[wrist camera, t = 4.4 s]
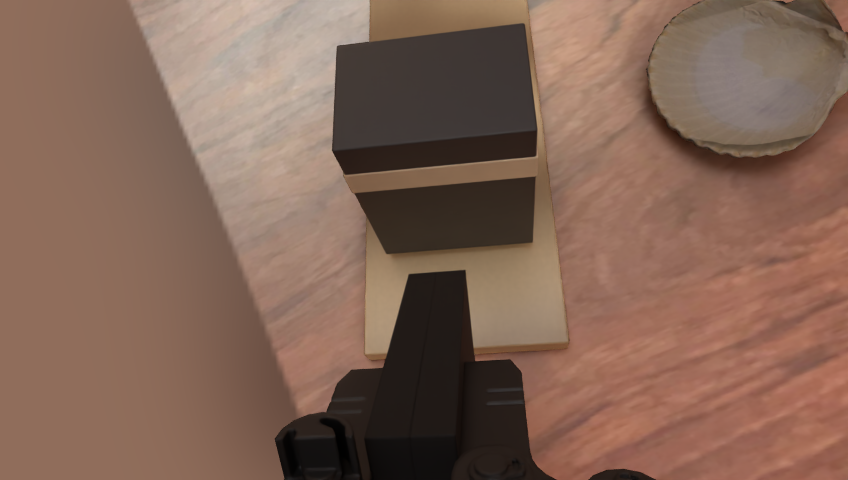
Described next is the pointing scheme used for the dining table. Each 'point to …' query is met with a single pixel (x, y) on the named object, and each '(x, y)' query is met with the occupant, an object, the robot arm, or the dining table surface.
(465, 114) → the dark grey lidded box
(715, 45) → the seashell
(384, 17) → the rail
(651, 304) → the dining table surface
